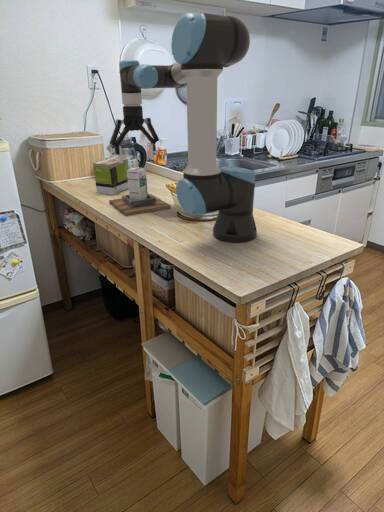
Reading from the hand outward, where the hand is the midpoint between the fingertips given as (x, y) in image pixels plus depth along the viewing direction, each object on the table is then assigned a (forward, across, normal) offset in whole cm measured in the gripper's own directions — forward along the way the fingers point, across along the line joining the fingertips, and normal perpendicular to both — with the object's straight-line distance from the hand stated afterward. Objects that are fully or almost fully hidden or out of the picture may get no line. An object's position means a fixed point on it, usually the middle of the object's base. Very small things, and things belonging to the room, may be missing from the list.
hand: (136, 161), depth 153 cm
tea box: (+19, +1, -30) cm, 36 cm away
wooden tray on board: (+19, 0, 0) cm, 19 cm away
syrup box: (+18, 0, 0) cm, 18 cm away
